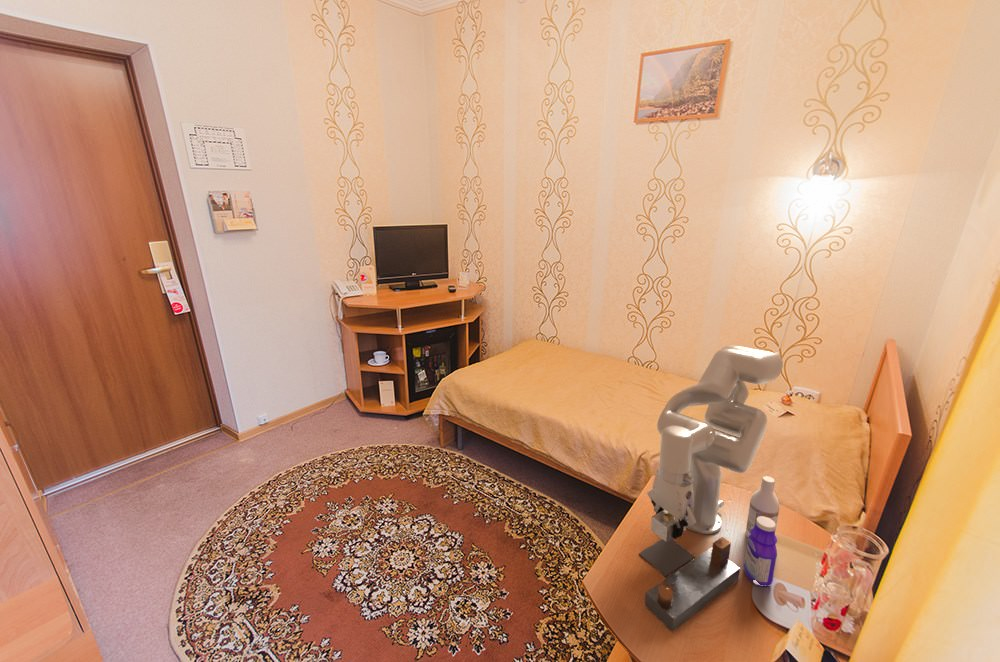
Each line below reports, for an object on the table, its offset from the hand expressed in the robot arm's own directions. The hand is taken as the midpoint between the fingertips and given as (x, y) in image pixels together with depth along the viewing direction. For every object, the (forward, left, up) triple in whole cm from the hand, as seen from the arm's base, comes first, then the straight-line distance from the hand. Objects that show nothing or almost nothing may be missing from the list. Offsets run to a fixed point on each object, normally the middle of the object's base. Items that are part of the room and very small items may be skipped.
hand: (668, 529), depth 112 cm
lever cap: (0, 0, 0) cm, 0 cm away
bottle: (-14, +17, -10) cm, 24 cm away
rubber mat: (0, 0, -9) cm, 9 cm away
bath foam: (-28, +10, -10) cm, 32 cm away
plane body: (+4, +11, -9) cm, 15 cm away
